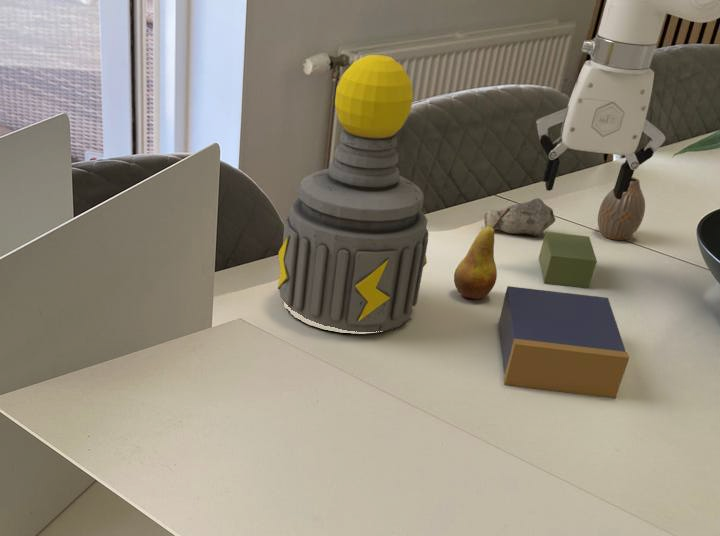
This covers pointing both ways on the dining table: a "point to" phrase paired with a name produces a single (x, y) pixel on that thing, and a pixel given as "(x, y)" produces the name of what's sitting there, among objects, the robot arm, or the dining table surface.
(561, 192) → the dining table surface
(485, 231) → the fruit
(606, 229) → the vase
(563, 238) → the green rectangular block
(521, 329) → the blue and tan box
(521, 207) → the stone
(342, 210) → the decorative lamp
